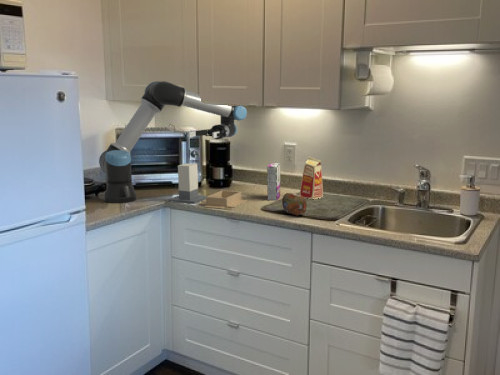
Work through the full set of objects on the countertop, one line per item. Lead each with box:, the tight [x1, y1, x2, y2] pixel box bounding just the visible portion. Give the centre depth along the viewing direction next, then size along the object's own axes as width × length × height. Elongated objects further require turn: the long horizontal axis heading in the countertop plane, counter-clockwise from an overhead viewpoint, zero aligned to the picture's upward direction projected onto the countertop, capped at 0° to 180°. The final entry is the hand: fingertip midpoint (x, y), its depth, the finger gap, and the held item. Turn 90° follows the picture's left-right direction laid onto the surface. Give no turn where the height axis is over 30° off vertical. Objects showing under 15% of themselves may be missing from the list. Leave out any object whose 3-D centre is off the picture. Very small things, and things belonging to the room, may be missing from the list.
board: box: [168, 194, 208, 205], centre depth 248 cm, size 14×14×1 cm
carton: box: [200, 190, 248, 210], centre depth 240 cm, size 17×23×4 cm
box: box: [177, 162, 199, 200], centre depth 246 cm, size 6×8×16 cm
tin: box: [281, 192, 307, 216], centre depth 218 cm, size 15×3×8 cm, turn 29°
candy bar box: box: [266, 162, 281, 201], centre depth 249 cm, size 11×5×16 cm, turn 168°
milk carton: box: [298, 156, 324, 200], centre depth 249 cm, size 9×9×20 cm
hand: (200, 135), depth 255 cm, fingers open, 13 cm apart
